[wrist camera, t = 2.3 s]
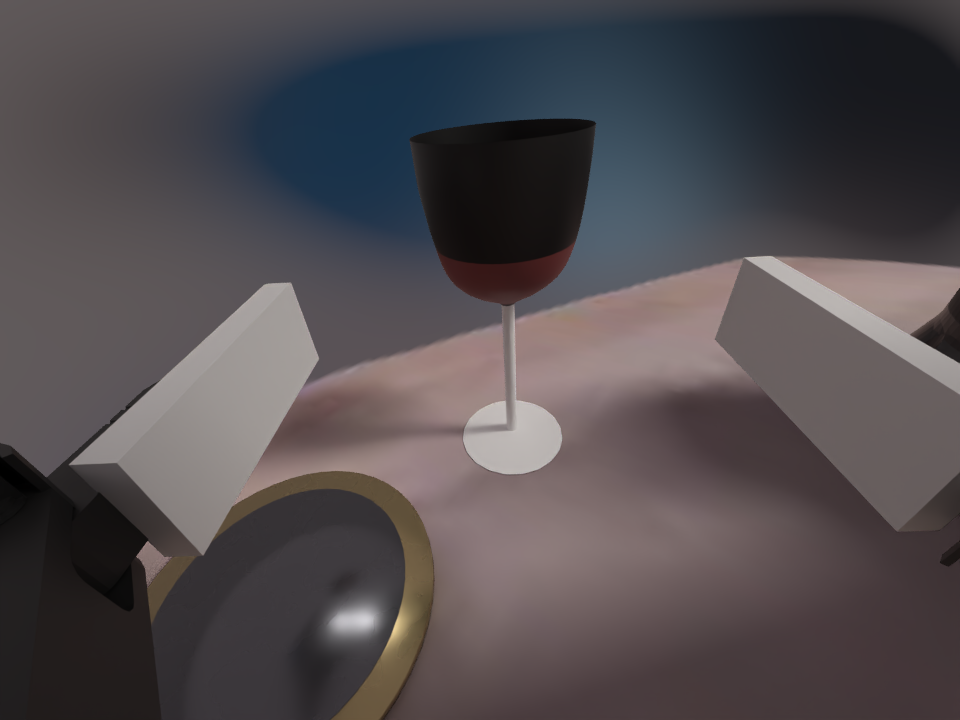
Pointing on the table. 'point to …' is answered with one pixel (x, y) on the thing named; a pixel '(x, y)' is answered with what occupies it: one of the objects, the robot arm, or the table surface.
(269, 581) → the coaster
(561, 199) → the wineglass
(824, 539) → the table surface
